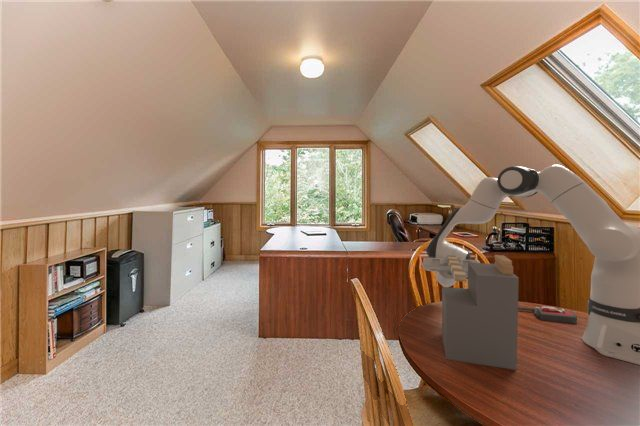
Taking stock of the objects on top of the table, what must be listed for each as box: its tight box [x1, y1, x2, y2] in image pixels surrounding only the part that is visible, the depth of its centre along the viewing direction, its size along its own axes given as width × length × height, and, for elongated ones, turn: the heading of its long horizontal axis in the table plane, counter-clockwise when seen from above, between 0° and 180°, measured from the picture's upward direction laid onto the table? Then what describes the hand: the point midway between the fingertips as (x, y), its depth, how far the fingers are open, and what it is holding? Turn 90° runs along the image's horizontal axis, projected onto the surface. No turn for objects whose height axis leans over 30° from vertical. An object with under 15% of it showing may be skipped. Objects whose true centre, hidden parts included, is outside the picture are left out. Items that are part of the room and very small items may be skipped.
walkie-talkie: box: [518, 305, 578, 325], centre depth 114 cm, size 9×4×20 cm
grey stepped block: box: [441, 254, 520, 371], centre depth 89 cm, size 16×18×30 cm
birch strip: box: [447, 255, 467, 282], centre depth 97 cm, size 26×3×2 cm, turn 161°
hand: (452, 259), depth 106 cm, fingers closed on birch strip, 3 cm apart
